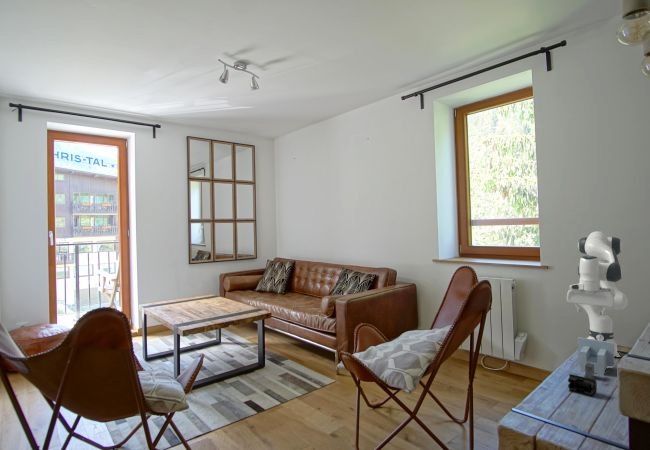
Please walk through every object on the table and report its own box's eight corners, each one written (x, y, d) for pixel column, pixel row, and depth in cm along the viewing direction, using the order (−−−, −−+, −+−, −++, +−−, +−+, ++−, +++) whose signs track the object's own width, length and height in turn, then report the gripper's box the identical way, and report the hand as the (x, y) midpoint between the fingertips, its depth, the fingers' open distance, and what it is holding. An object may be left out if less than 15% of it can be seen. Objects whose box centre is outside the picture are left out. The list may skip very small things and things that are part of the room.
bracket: (587, 374, 187) (586, 363, 187) (594, 376, 185) (594, 364, 185) (585, 378, 182) (585, 365, 183) (592, 379, 180) (592, 367, 181)
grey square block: (578, 361, 207) (578, 337, 207) (614, 368, 196) (613, 342, 196) (573, 369, 195) (573, 342, 195) (611, 376, 184) (610, 349, 184)
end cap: (597, 393, 164) (596, 378, 164) (593, 398, 159) (593, 382, 159) (571, 386, 171) (570, 372, 172) (567, 391, 166) (566, 376, 167)
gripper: (615, 288, 185) (616, 315, 184) (568, 284, 199) (568, 310, 198) (614, 289, 181) (615, 317, 180) (565, 285, 194) (566, 311, 194)
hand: (590, 313), depth 189 cm, fingers open, 8 cm apart
